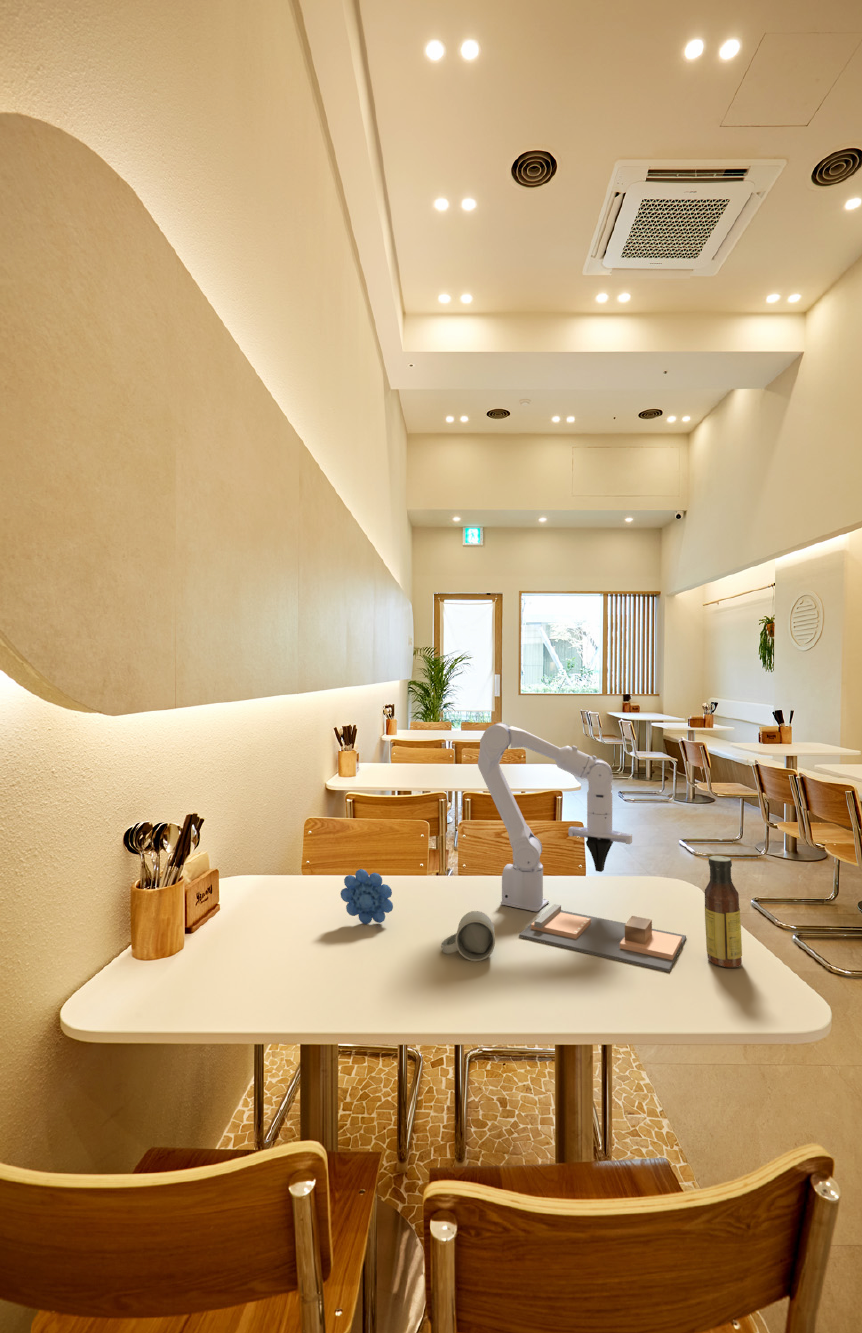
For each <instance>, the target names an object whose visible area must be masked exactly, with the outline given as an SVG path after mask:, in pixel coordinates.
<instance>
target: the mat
mask: <svg viewBox="0 0 862 1333" xmlns="http://www.w3.org/2000/svg"><path fill="white" fill-rule="evenodd" d="M560 912H561V913H566V914H571V915H576V916H581V917H586V918H591V924H590V925H589V926H588V927H587V928H586V929H585V930H584V931H583V932H582V933H581V935H580V936H579V937H578V938H577V939H574V938H569V937H565V936H560V935H556V934H551V933H547V932H543V931H538V930H534V929H531V924H529V925H528V926H526V928H525V929H523V930H522V931H521V932H520V933H519V935H518V938H521V939H526V940H530V941H534V942H538V943H543V944H547V945H550V946H551V945H552V946H555V947H560V948H564V949H568V950H571V951H577V952H580V953H581V952H582V953H585V954H590V955H593V956H596V957H597V956H598V957H602V958H607V959H611V960H615V961H619V962H624V963H627V964H632V965H635V966H636V965H637V966H641V967H645V968H650V969H653V970H657V971H663V972H665V973H666V972H667V973H670V972H671V970H672V968H673V966H674V963H675V962H676V960H677V958H678V956H679V953H680V952H681V949H682V948H683V946H684V944H685V942H686V940H687V935H685V934H681V933H675V932H670V931H665V930H661V929H655V928H652V931H656V932H661V933H666V934H671V935H676V936H681V937H682V943H681V945H680V947H679V949H678V950H677V952H676V954H675V956H674V958H673V960H670V959H665V958H661V957H656V956H652V955H647V954H643V953H638V952H634V951H629V950H625V949H620V942H621V941H622V939H623V938H624V937H625V924H626V923H627V922H621V921H616V920H611V919H606V918H601V917H596V916H592V915H586V914H582V913H577V912H571V911H567V910H563V909H561V911H560Z"/></svg>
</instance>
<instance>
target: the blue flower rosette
mask: <svg viewBox="0 0 862 1333" xmlns="http://www.w3.org/2000/svg"><path fill="white" fill-rule="evenodd" d="M354 875H355V876H354ZM354 875H351V874H349V875H347V876H345V878H344V879H343V883H344V886H345V888H342V889H341V891H340V898H341V899H342V901H343V902H344V903H347V904H346V906H345V909H346V913H347V914H348V915H349V916H352V917H356V916H358V920H359V921H360V922H361V923H362V924H363V925H369V924H370V923H371V922H372V920H373V921H374V922H375V923H378V924H381V923H383V922H385V919H386V914H385V913H387V914H388V913H389V914H390V913H391V912H392V911H393V909H394V904H393V902H392V901H391V900H390V898H391V897H392V894H393V891H392V888H391V887H390V885H388V884H384V883H383V877H382V876H381V875H380V874H379V873H377V872H372V873H370V874H369V873H368V872H367V870H365V869H362V868H360V869H358V870H356V871H355V874H354Z"/></svg>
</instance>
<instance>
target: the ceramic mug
mask: <svg viewBox="0 0 862 1333" xmlns="http://www.w3.org/2000/svg"><path fill="white" fill-rule="evenodd" d="M495 936H496V934H495V927H494V924H493V921H492V919H491V918H490V917H489V916H488V914H486V913H484V912H482V911H479V910H473V911H469V912H467V913H466V914H464V915H463V917H461V919H460V921H459V923H458V927H457V931H456V933H454V934H451V935H450V936H448V937H447V938H445V939H444V940H443V941H442V942H441V943H440V947H441V950H442V952H443V953H444V954H446V955H447V954H448V955H449V954H453V953H456V952H458V953H459V954H460V955H461V956H462V957H463V958H464V959H466V960H469V961H472V962H480V961H484V960H486V959H487V958H488V957H490V956H491V954H492V953H493V952H494V949H495V945H496V937H495Z"/></svg>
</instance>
